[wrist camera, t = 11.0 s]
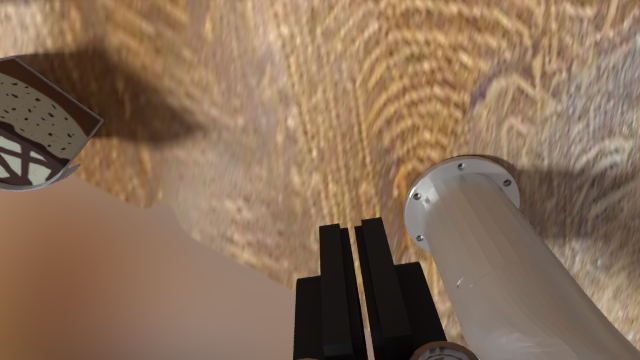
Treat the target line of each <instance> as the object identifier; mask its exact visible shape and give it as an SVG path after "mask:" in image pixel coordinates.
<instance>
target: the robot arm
mask: <svg viewBox="0 0 640 360" xmlns="http://www.w3.org/2000/svg"><path fill="white" fill-rule="evenodd" d="M459 164H460V165H459ZM416 193H417V194H416ZM519 208H520V192H519V189H518V186H517V183H516V182H515V180H514V178H513V177H512V176H511V174H510V173H509V172H508V171H507V170H506V169H505V168H504V167H502V166H501V165H500V164H498V163H496V162H494V161H492V160H490V159H487V158H483V157H479V156H461V157H454V158H451V159H447V160H444V161H442V162H440V163H438V164H436V165H434V166H432V167H431V168H429V169H428V170H426V171H425V172H424V173H423V174H422V175H420V176H419V177H418V178H417V179H416V181H415V182H414V183H413V185H412V186H411V187H410V189H409V191H408V193H407V195H406V198H405V202H404V206H403V218H404V223H405V226H406V229H407V231H408V233H409V235H410V237H411V238H412V240H413V241H414V242H415V243H416V244H417V245H418V246H419V247H421V248H422V249H424V250H425V251H427V252H430V253H431V254H432V257H433V259H434V262H435V264H436V267H437V269H438V272H439V274H440V277H441V279H442V282H443V284H444V287H445V289H446V292H447V294H448V297H449V300H450V302H451V305H452V307H453V310H454V312H455V315H456V317H457V320H458V322H459V325H460V327H461V329H462V332H463V334H464V337H465V339H466V341H467V343H468V345H469V346H470V348H471V349H472V351H473V352H474V353H473V352H472V351H470V350H469V349H467V348H466V347H464V346H462V345H459V344H457V343H454V342H447V339H446V336H445V333H444V330H443V327H442V324H441V322H440V319H439V316H438V313H437V310H436V307H435V304H434V301H433V299H432V296H431V293H430V290H429V287H428V284H427V281H426V279H425V276H424V273H423V270H422V267H421V265H420V263H419V262H412V263H405V264H398V265H394V263H393V259H392V255H391V252H390V248H389V244H388V240H387V236H386V233H385V229H384V225H383V221H382V218H381V217H378V218H372V219H365V220H361V222H362V225H361V226H355V227H354V228H355V235H356V241H357V248H358V254H359V261H360V267H361V274H362V280H363V287H364V293H365V300H366V306H367V313H368V319H369V325H370V332H371V338H372V344H373V351H374V357H375V360H479V359H480V360H640V351H639V350H638V349H637V348H636V347H635V346H633V345H632V344H631V343H630V342H629V341H628V340H627V339H626V338H625V337H624V336H623V335H622V334H621V333H620V332H619V331H618V330H617V329H616V327H615V326H614V325H613V324H612V323H611V322H610V321H609V320H608V319H607V317H606V316H605V315H604V314H603V313H602V312H601V311H600V309H599V308H598V307H597V306H596V305H595V304H594V302H593V301H592V300H591V299H590V298H589V297H588V295H587V294H586V293H585V292H584V290H583V289H582V288H581V287H580V285H579V284H578V283H577V282H576V280H575V279H574V278H573V277H572V276H571V274H570V273H569V272H568V271H567V269H566V268H565V267H564V265H563V264H562V263H561V262H560V260H559V259H558V258H557V257H556V255H555V254H554V253H553V252H552V250H551V249H550V248H549V247H548V245H547V244H546V243H545V242H544V240H543V239H542V238H541V237H540V235H539V234H538V233H537V232H536V231H535V229H534V228H533V227H532V226H531V224H530V223H529V222H528V221H527V219H526V218H525V217H524V216H523V214H522V213H521V212H520V211H519ZM319 238H320V271H321V276H313V277H306V278H299V279H297V283H296V304H295V328H294V329H295V330H294V353H293V360H368V355H367V348H366V340H365V334H364V326H363V319H362V312H361V305H360V299H359V293H358V287H357V281H356V275H355V268H354V262H353V256H352V250H351V244H350V238H349V232H348V228H341V229H340V225H339V223H338V224H331V225H325V226H319ZM476 356H477V357H478V358H479V359H478V358H477V357H476Z"/></svg>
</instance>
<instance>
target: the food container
mask: <svg viewBox="0 0 640 360" xmlns="http://www.w3.org/2000/svg"><path fill="white" fill-rule="evenodd" d="M103 122H104V120H103V119H102V118H100V117H99V116H97V115H96V114H95V113H93V112H92V111H90V110H89V109H88V108H86V107H85V106H83V105H82V104H81V103H79V102H78V101H76V100H75V99H74V98H72V97H71V96H69V95H68V94H67V93H65V92H64V91H62V90H61V89H60V88H58V87H57V86H55V85H54V84H53V83H51V82H50V81H48V80H47V79H46V78H44V77H43V76H41V75H40V74H39V73H37V72H36V71H34V70H33V69H32V68H30V67H29V66H27V65H26V64H25V63H23V62H22V61H20V60H19V59H18V58H16V57H15V56H10V57H5V58H0V190H6V191H29V190H35V189H40V188H43V187H47V186H49V185H51V184H54V183H56V182H58V181H60V180H62V179H64V178H66V177H68V176H69V175H70V174H72V173H73V172H75V171H76V170H77V168H78V167H79V166H80V165H81V164H77V165H75V166H73V167H71V168H68V167H69V165H70V164H71V163H72V162H73V160H74V159H75V158H76V156H77V155H78V154H79V153H80V151H81V150H82V149H83V147H84V146H85V145H86V144H87V142H88V141H89V140H90V139H91V137H92V136H93V135H94V133H95V132H96V131H97V130H98V128H99V127H100V126H101V124H102V123H103Z"/></svg>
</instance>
